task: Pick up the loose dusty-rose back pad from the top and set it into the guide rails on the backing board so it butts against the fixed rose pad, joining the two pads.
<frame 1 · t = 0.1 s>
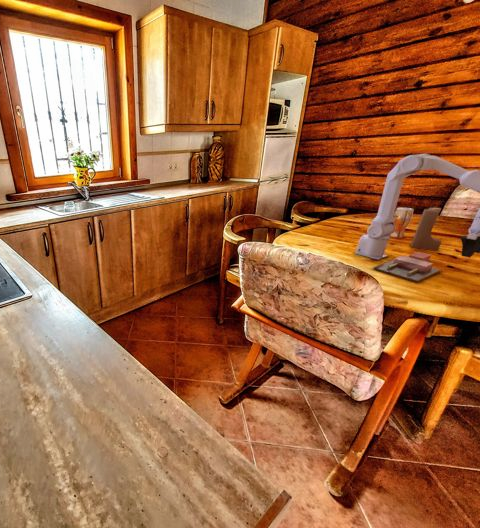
hand: (470, 254, 100), 10 cm above the table, tool pointing down, fingers open, 7 cm apart
beer glass: (395, 236, 149), on the table
backing board: (405, 270, 113), on the table
wooden block: (423, 248, 133), on the table
loose pad: (417, 261, 120), on the table
candy box: (421, 238, 145), on the table
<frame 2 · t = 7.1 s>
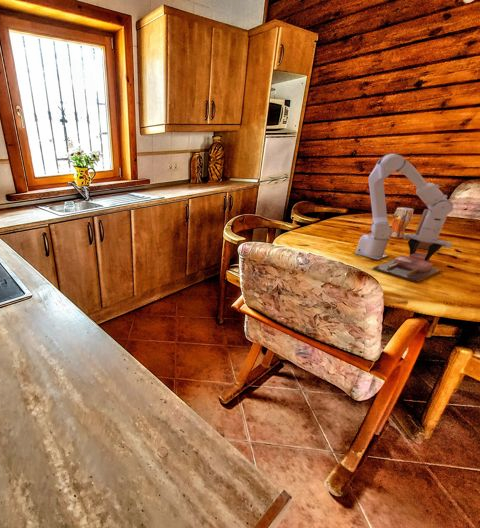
hand: (419, 258, 119), 1 cm above the table, tool pointing down, fingers closed on loose pad, 4 cm apart
loose pad: (417, 261, 120), on the table, touching gripper
everything else where it was.
when the fingers open (2 cm above the table, at t = 11.6 s): loose pad stays where it is, resting on backing board.
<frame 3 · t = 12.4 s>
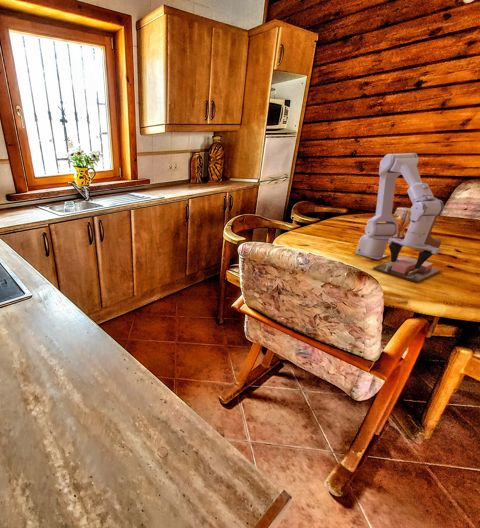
hand: (404, 264, 110), 3 cm above the table, tool pointing down, fingers open, 7 cm apart
loose pad: (402, 270, 111), point 1 cm above the table, touching backing board
everything else where it was.
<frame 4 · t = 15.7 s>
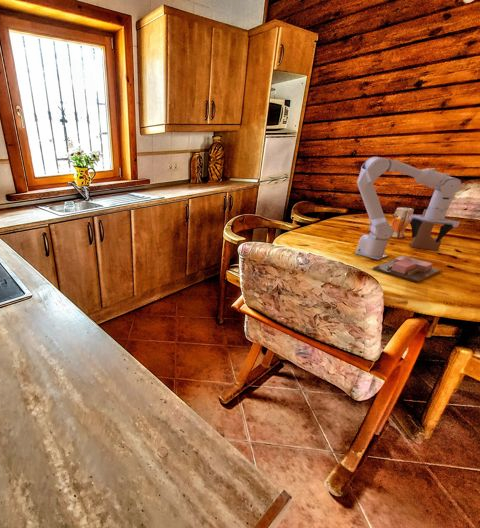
hand: (425, 239, 118), 9 cm above the table, tool pointing down, fingers open, 7 cm apart
nothing on the table moved.
at the end: loose pad 0.0 cm from the target spot on the backing board, point 1.0 cm above the backing board's base; loose pad tilted 0° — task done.
